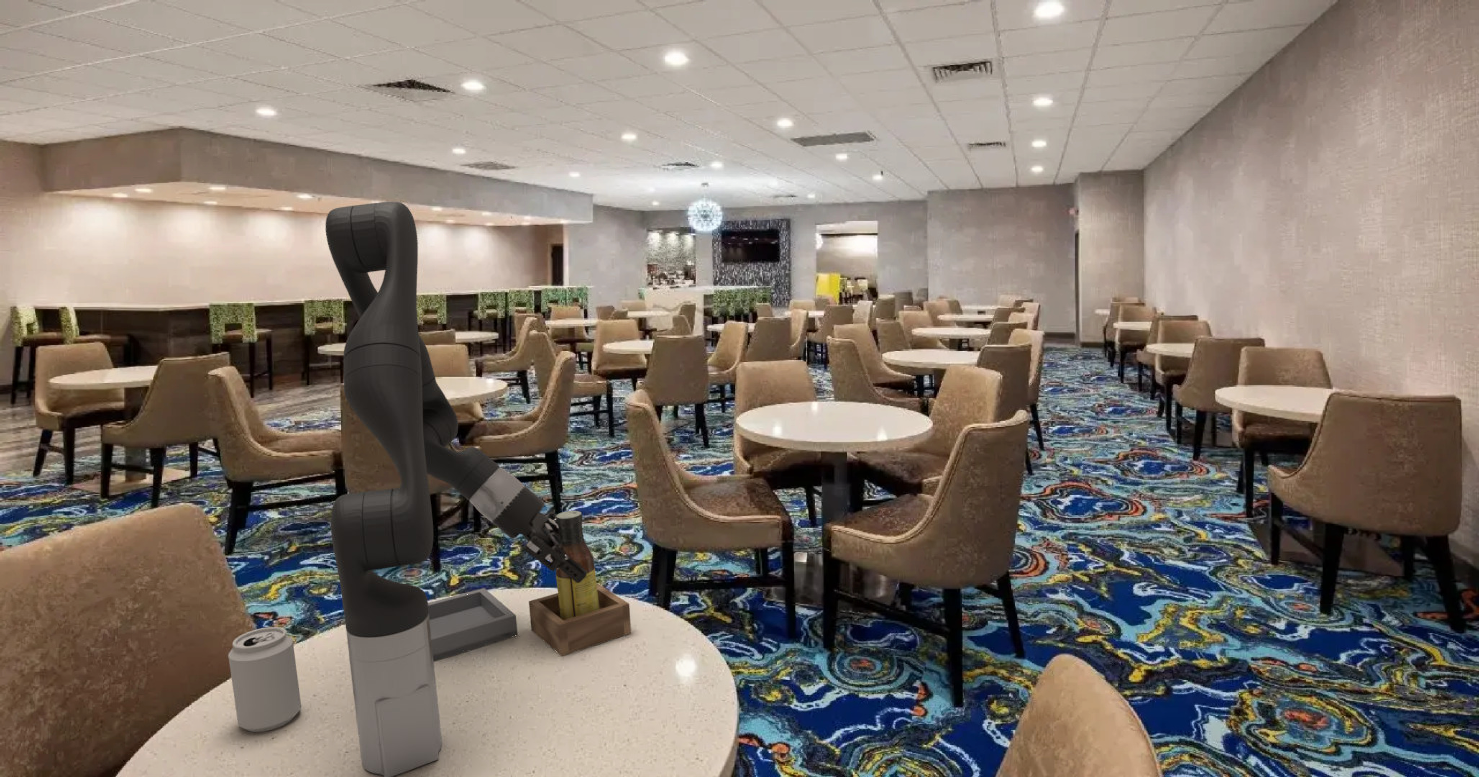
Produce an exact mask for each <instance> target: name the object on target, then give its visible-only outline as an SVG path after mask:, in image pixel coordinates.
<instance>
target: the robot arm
mask: <svg viewBox="0 0 1479 777" xmlns="http://www.w3.org/2000/svg"><path fill="white" fill-rule="evenodd" d="M414 218H415V217H414V216H413V214H412V212H411V210H410V209H409V207H408V206H407V205H406V204H405V203H404V202H403V203H402V202H399V201H380V202H373V203H365V204H363V203H362V204H357V205H348V206H347V205H346V206H342V207H341V206H340V207H336V208H332V209H331V210H330V211H329V212H328V214H327V215H326V219H325V236H326V241H327V246H328V249H329V252H330V255H331V257H332V261H333V262H334V265H335V268H336V269H337V271H338V274H339V276H340V278H341V281H342V283H343V285H344V287H345V289H346V292H347V293H348V296H349V298H350V301H351V302H352V305H353V306H354V308H355V310H356V313H357V315H358V316H359V319H358V321H357V323H356V324H355V325H354V326H353V329H352V330H351V332H350V333H349V335H348V336H347V339H346V342H345V345H344V347H343V348H344V349H343V392H344V397H345V399H346V401H347V403H348V405H349V407H350V408H351V409H352V412H354V414H355V415H356V416H357V417H358V419H359V420H360V421H361V422H362V424H363V425H364V426H365V427H366V428H367V430H369V431H370V433H371V434H372V435H373V436H374V437H375V438H376V440H377V441H378V442H379V443H380V445H381V446H382V447H383V449H384V450H385V452H386V453H387V455H388V456H389V458H390V459H391V461H392V463H393V464H394V466H395V469H396V471H397V473H398V475H399V477H400V486H399V487H396V488H395V487H394V488H389V489H388V488H387V489H385V488H384V489H377V490H369V491H359V492H352V493H345V494H342V495H340V496H338V497H337V498H336V499H335V500H334V501H333V502H334V503H333V505H332V508H331V512H330V534H331V540H332V548H333V553H334V558H335V559H334V560H335V563H336V569H337V574H338V580H339V585H340V594H341V600H342V607H343V608H342V609H343V615H344V622H345V632H346V640H347V650H348V658H349V665H350V666H349V667H350V675H351V684H352V691H353V700H354V709H355V719H356V725H357V726H356V727H357V733H358V734H357V735H358V740H359V741H358V742H359V748H360V759H361V765H362V767H363V769H365V770H366V771H367V772H370V773H372V774H375V775H376V774H377V775H381V776H382V777H395V776H398V775H401V774H404V773H406V772H408V771H411V770H414V769H417V768H420V767H421V766H425V765H427V764H430V763H433V762H435V761H437V760H438V759H439V753H440V750H441V749H442V745H443V742H442V741H443V740H442V732H441V731H442V730H441V729H442V728H441V721H440V720H441V719H440V711H439V702H438V693H437V691H438V690H437V682H436V671H435V661H434V660H433V651H432V641H431V630H430V620H429V610H428V603H429V602H428V596H427V595H426V593H425V591H424V590H423V589H422V588H420V587H418V586H415V585H413V584H408V583H404V582H398V581H394V580H391V579H388V578H384V577H383V576H380V575H379V574H377V573H376V572H374V570H381V569H389V568H390V569H391V568H395V567H396V568H398V567H404V566H410V565H411V566H412V565H416V564H420V563H423V562H425V561H427V560H428V559H429V558H430V555H431V553H432V550H433V544H434V524H433V513H432V512H433V510H432V503H431V494H430V493H431V492H430V486H429V478H428V475H429V476H430V477H432V478H435V479H437V480H440V481H442V482H444V483H446V484H448V485H449V486H451V487H452V488H453V489H454V490H456V492H458V493H459V494H460V495H461V496H462V497H464V498H465V499H466V500H467V501H469V502H470V503H471V504H472V505H473V507H475V509H476V510H477V511H478V512H479V513H480V514H481V515H483V516H484V517H485V518H486V519H487V520H488V521H489V522H491V523H492V524H493V525H495V526H496V528H498V529H499V530H500V531H501V532H503V533H504V534H505V535H507V537H509V538H510V539H512V540H513V539H516V538H518V537H519V535H522V536H523V537H524V538H525V540H526V541H527V542H526V544H525V545H524V546H523V550H524V551H525V552H526V553H527V554H528V555H530V556H531V557H533V558H534V559H535V560H536V561H538V562H539V563H540V564H542V565H543V566H545V567H546V568H547V569H548V570H550V571H552V572H554V571H556V569H558V570H559V569H561V570H562V571H563V572H565V573H566V574H567V575H568V576H569V577H571V578H572V579H573V580H574V581H575V582H577V583H580V582H581V581H582V580H583V579H584V578H585V577H586V575H587V571H586V570H585V569H584V568H582V567H581V566H580V565H579V564H578V563H577V562H575V561H574V560H573V559H572V558H570V557H569V556H568V554H567V553H566V552H565V551H564V550H563V548H562V547H563V544H562V542H561V541H560V540H559V538H560V536H559V527H558V525H557V521H556V516H557V515H558V514H556V513H555V512H554V511H550V512H549V513H547V515H545V514H543V513H542V512H541V510H542V509H544V507H545V502H544V501H543V500H542V499H541V498H540V497H539V496H537V495H536V494H535V492H533V491H532V490H531V489H530V488H529V487H527V486H526V485H525V484H524V483H522V482H521V481H520V480H519V479H517V477H515V476H514V475H513V474H511V473H510V472H508V471H507V470H505V468H502V467H501V466H500V465H499V464H497V463H496V462H495V461H494V460H493V459H491V457H490V456H488V455H487V454H486V453H484V452H483V451H482V450H480V449H479V448H477V447H474V446H471V447H467V448H465V449H463V450H461V451H455V450H452V449H449V448H448V447H447V446H449V445H451V443H452V442H453V441H454V440H455V439H456V437H457V435H458V432H459V431H458V430H459V420H458V416H457V414H456V411H455V410H454V408H453V407H452V405H451V404H450V402H449V401H448V398H447V397H446V395H445V394H444V392H443V390H442V388H440V386H439V384H438V382H437V380H436V376H435V371H434V368H433V365H432V360H431V357H430V353H429V351H428V348H427V346H426V344H425V342H424V340H423V338H422V337H421V336H420V334H419V324H418V309H417V308H418V307H417V303H418V302H417V299H418V298H417V292H418V290H417V288H418V264H419V263H418V261H419V258H418V257H419V256H418V254H419V253H418V250H419V247H418V246H419V245H418V243H419V242H418V232H417V227H416V222H415V219H414ZM380 271H384V274H383V279H382V283H381V285H380V287H379V290H377V289H376V288H375V285H374V284H373V282H372V279H371V276H370V275H369V273H373V272H380ZM592 557H593V560H594V559H595V558H594V555H592ZM569 558H570V559H569Z"/></svg>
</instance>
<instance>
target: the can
mask: <svg viewBox="0 0 1479 777" xmlns="http://www.w3.org/2000/svg"><path fill="white" fill-rule="evenodd" d="M293 640H294V639H293V637H291V636H289V635H287V630H286V629H285V628H283V627H278V626H267V627H262V628H258V629H253V630H250V631H248V632H244V633H243V634H240V635H239V636H238V637H235V639H234V640H233V642H232V648H231V650H230V651H229V652H228V655H227V656H228V662H229V669H230V678H231V683H232V684H231V685H232V692H233V699H234V705H235V711H236V712H235V713H236V719H237V720H236V721H237V725H238V726H239V727H240V728H241V729H245V730H246V731H248V732H254V733H261V732H262V733H263V732H267V731H270V730H274V729H277V728H280V727H282V726H285V725H286V724H288V723H289V722H291V720H293V719H294V717H295V716H296V715H297V713H298V712H300V711H301V708H302V702H301V695H300V686H299V679H298V677H299V676H298V670H297V665H296V664H297V662H296V655H295V647H294V641H293Z"/></svg>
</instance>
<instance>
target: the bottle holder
mask: <svg viewBox="0 0 1479 777" xmlns="http://www.w3.org/2000/svg"><path fill="white" fill-rule="evenodd" d="M597 592H598V601H599V610H596V611H593V612H589V613H586V614H583V615H580V616H576V617H573V618H570V619H566V620H562V619H561V616H560V606H559V597H558V592H557V593H553V594H550V595H549V594H548V595H546V596H543V597H539V598H536V599H531V600H529V601H528V608H529V620H530V621H529V622H530V629H531V630H530V631H531V632H533V633H534V634H535V633H536V634H537V637H539V638H540V639H541V640H542V641H543V640H544V641H543V642H544V643H545V644H547V645H548V646H549V645H550V646H549V647H550V648H552V649H553V651H555V650H556V651H557V652H556V651H555V652H556V653H557V654H558V655H560V656H561V657H564V656H567V655H570V654H573V653H576V652H578V651H581V650H584V649H587V648H590V647H591V648H592V647H593V646H596V645H600V644H603V643H606V642H609V641H611V640H615V639H618V638H621V637H624V636H626V635H629V634H632V627H631V610H630V609H631V608H630V603H629V602H627V601H626V600H624V599H623V598H621V597H619V595H617V594H614V593H613V592H611V591H610V590H608V589H607V588H605V587H604V586H602V585H601V584H600V583H597ZM536 634H535V635H536Z"/></svg>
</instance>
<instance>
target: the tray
mask: <svg viewBox="0 0 1479 777" xmlns="http://www.w3.org/2000/svg"><path fill="white" fill-rule="evenodd" d="M467 594H468V595H467ZM428 610H429V620H430V630H431V641H432V651H433V660H434V662H436V661H439V660H443V659H445V658H449V657H452V656H456V655H459V654H462V653H466V652H469V651H471V650H475V649H478V648H482V647H484V646H488V645H492V644H494V643H498V642H501V640H502V641H504V640H508V639H511V637H512V636H515V635H518V636H519V634H518V623H517V614H515V613H514V612H513V611H511V609H510V608H508V607H507V606H506V605H505V604H503V602H501V601H500V600H499V599H498V598H497V597H495V596H494V595H493V594H492V593H491V592H489V590H487V589H486V588H485V587H483V588H480V589H475V590H471V591H467V592H465V593H461V594H457V595H453V596H449V597H445V598H441V599H439V600H434V601H431V602H428ZM515 637H516V636H515ZM507 638H508V639H507ZM512 638H513V637H512ZM468 650H469V651H468Z"/></svg>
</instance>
